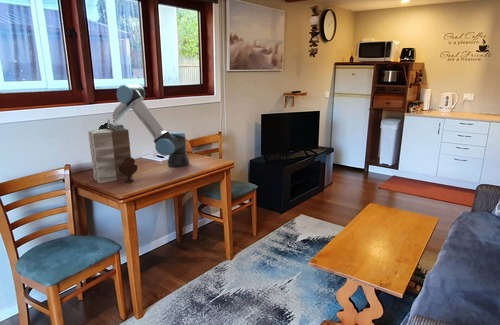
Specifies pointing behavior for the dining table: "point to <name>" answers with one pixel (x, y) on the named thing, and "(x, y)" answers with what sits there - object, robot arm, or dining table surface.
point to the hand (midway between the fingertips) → (112, 121)
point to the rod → (116, 126)
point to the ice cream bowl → (128, 168)
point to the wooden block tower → (109, 153)
